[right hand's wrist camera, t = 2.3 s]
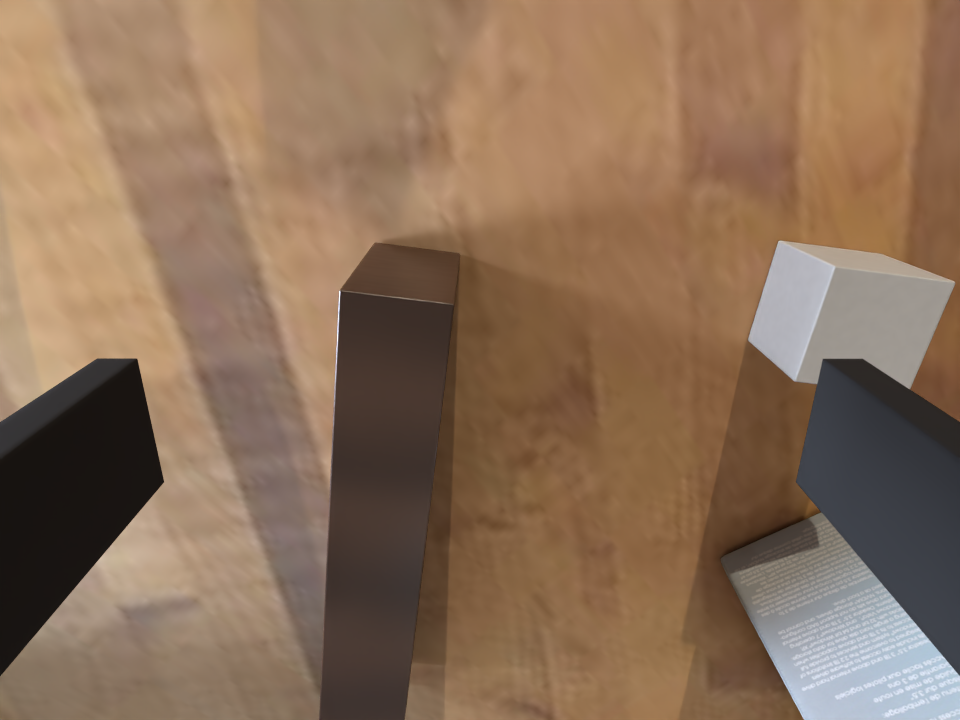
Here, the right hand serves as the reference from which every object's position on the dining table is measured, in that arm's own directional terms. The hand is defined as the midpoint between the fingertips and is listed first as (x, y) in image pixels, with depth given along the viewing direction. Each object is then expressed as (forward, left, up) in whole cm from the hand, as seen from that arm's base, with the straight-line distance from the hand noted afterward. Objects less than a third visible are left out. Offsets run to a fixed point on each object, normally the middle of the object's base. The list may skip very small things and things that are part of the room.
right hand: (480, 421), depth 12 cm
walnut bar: (-3, -14, -18) cm, 23 cm away
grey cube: (+16, -1, -18) cm, 24 cm away
